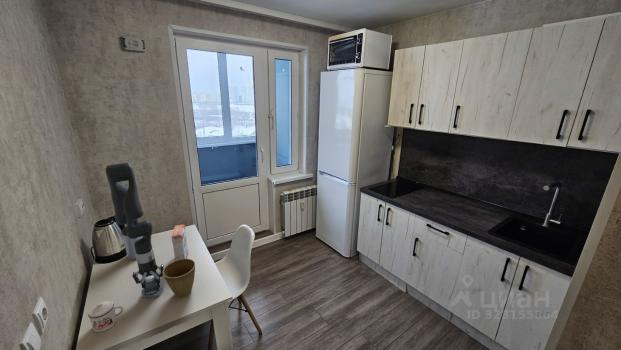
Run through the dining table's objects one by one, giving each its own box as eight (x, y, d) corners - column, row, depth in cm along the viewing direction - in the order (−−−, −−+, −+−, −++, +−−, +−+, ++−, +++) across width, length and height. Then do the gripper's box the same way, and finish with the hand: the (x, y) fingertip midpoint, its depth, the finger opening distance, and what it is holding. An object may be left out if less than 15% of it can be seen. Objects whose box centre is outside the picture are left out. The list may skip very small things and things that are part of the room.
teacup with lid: (91, 336, 109) (84, 315, 106) (94, 321, 116) (88, 301, 113) (124, 324, 115) (119, 303, 112) (126, 310, 123) (121, 291, 119)
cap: (145, 285, 134) (144, 277, 132) (158, 282, 136) (156, 273, 135) (145, 292, 129) (143, 283, 127) (158, 288, 132) (156, 279, 130)
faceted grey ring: (142, 290, 136) (142, 286, 135) (163, 283, 140) (162, 280, 139) (141, 302, 128) (140, 298, 127) (163, 295, 132) (162, 291, 131)
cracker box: (186, 264, 157) (181, 234, 151) (175, 266, 155) (170, 236, 149) (189, 251, 170) (184, 223, 163) (179, 253, 168) (174, 225, 162)
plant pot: (169, 287, 138) (164, 262, 133) (199, 280, 143) (195, 256, 139) (165, 307, 125) (160, 280, 120) (198, 298, 130) (194, 272, 125)
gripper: (162, 250, 134) (167, 277, 139) (129, 258, 127) (135, 286, 132) (162, 258, 128) (167, 285, 133) (127, 266, 121) (134, 295, 126)
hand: (151, 285), depth 133 cm, fingers closed on cap, 5 cm apart
